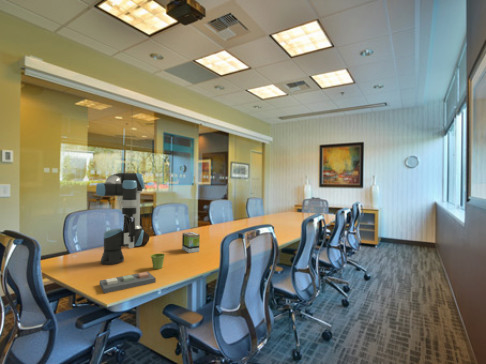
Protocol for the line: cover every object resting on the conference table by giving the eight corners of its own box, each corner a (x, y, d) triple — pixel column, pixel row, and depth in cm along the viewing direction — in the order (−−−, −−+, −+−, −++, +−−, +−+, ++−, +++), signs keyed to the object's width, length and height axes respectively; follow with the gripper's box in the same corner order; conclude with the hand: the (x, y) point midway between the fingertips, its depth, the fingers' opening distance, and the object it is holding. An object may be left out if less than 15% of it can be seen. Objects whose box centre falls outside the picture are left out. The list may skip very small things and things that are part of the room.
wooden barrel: (144, 242, 258) (145, 213, 258) (152, 245, 245) (153, 215, 245) (125, 245, 245) (125, 214, 245) (133, 248, 232) (133, 216, 232)
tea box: (199, 251, 227) (200, 234, 227) (188, 253, 221) (188, 235, 221) (192, 247, 239) (192, 231, 239) (181, 249, 233) (182, 232, 233)
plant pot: (155, 271, 176) (155, 258, 176) (147, 268, 182) (147, 255, 182) (167, 268, 183) (167, 255, 183) (160, 265, 189) (160, 252, 189)
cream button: (106, 283, 149) (106, 279, 149) (115, 281, 152) (115, 277, 152) (107, 286, 145) (107, 282, 145) (117, 284, 148) (117, 280, 148)
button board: (99, 285, 152) (99, 280, 152) (147, 275, 168) (148, 271, 168) (104, 293, 140) (104, 288, 140) (155, 282, 157) (155, 278, 157)
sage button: (122, 280, 155) (122, 276, 155) (131, 278, 158) (131, 274, 158) (124, 282, 151) (124, 278, 151) (133, 281, 154) (133, 277, 154)
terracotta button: (137, 277, 160) (137, 273, 160) (146, 275, 163) (146, 271, 163) (140, 279, 156) (140, 275, 156) (148, 277, 159) (148, 274, 159)
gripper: (117, 205, 161) (117, 242, 161) (127, 209, 143) (126, 251, 143) (130, 205, 165) (130, 241, 165) (142, 208, 147) (141, 249, 147)
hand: (128, 245), depth 154 cm, fingers open, 10 cm apart
